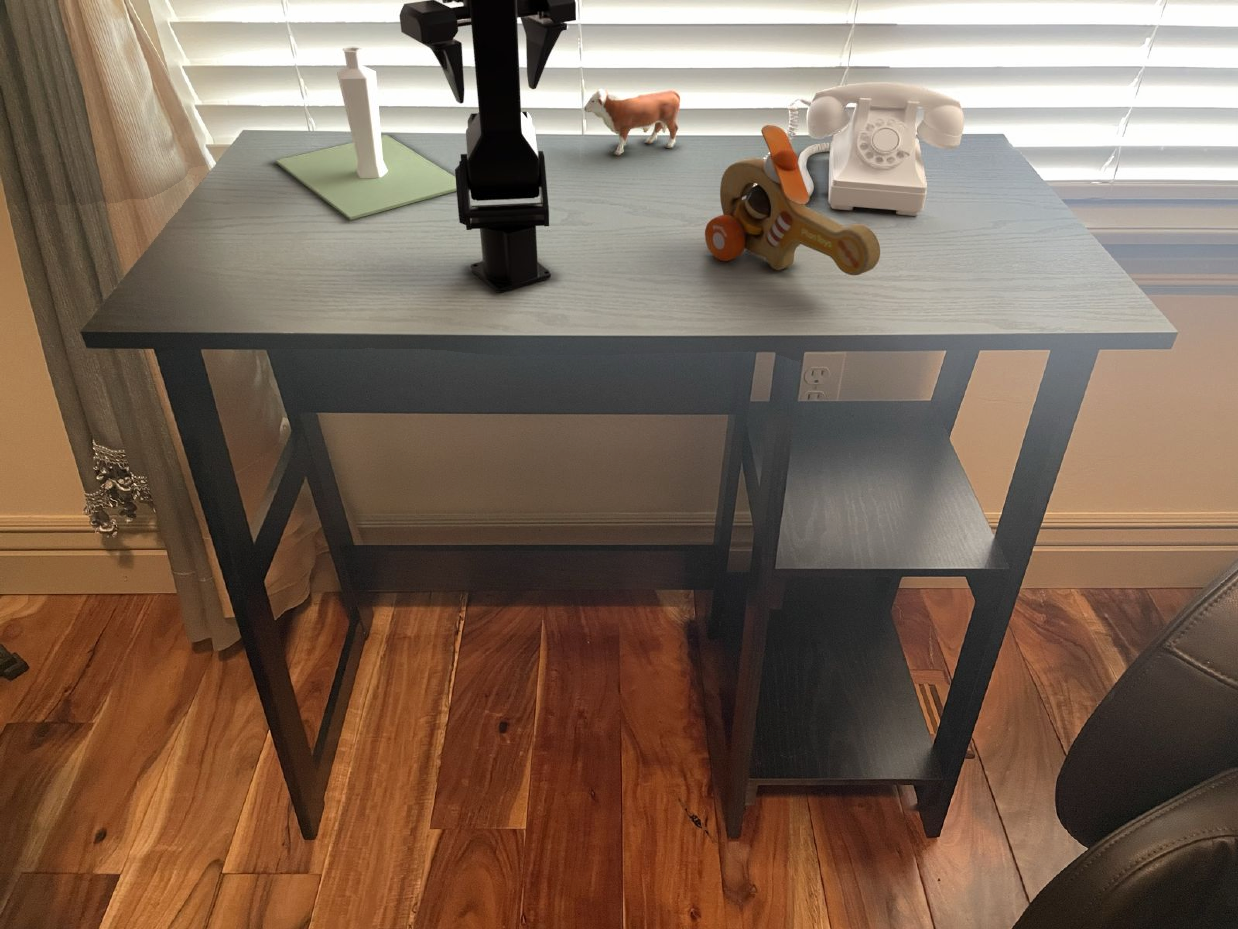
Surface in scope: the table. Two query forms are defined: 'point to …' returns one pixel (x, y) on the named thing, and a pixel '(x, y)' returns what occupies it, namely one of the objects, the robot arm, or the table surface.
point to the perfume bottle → (362, 113)
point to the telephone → (877, 142)
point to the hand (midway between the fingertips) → (496, 95)
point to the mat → (361, 197)
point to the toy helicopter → (781, 215)
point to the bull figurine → (636, 113)
